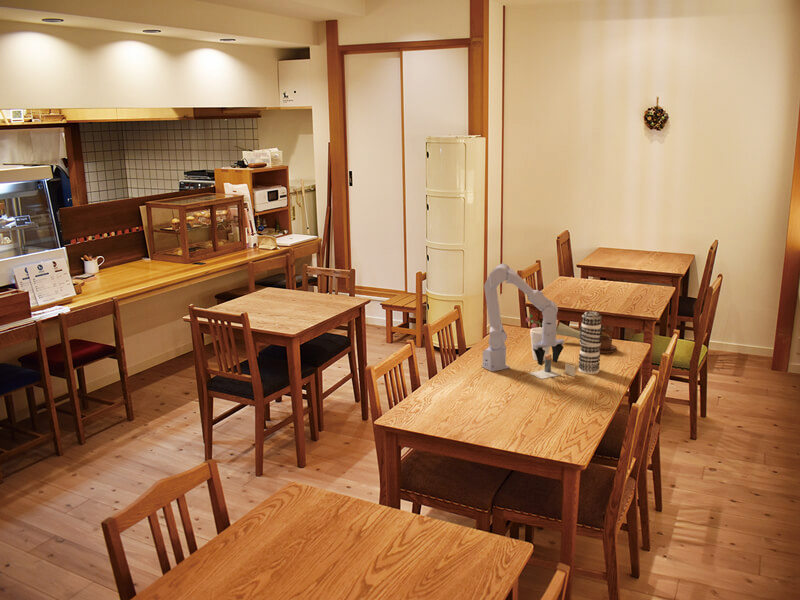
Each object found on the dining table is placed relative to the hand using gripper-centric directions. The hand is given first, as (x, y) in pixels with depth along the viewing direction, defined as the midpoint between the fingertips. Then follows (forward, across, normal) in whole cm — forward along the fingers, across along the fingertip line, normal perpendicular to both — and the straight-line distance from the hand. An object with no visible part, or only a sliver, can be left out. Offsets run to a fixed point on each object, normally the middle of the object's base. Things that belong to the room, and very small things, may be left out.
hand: (547, 363), depth 296 cm
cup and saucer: (+4, +40, +10) cm, 42 cm away
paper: (+4, -3, -2) cm, 5 cm away
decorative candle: (+4, +16, -7) cm, 18 cm away
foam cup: (+4, +8, +15) cm, 17 cm away
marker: (+3, 0, 0) cm, 4 cm away
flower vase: (+4, +33, +31) cm, 45 cm away
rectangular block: (+4, +6, -7) cm, 10 cm away
